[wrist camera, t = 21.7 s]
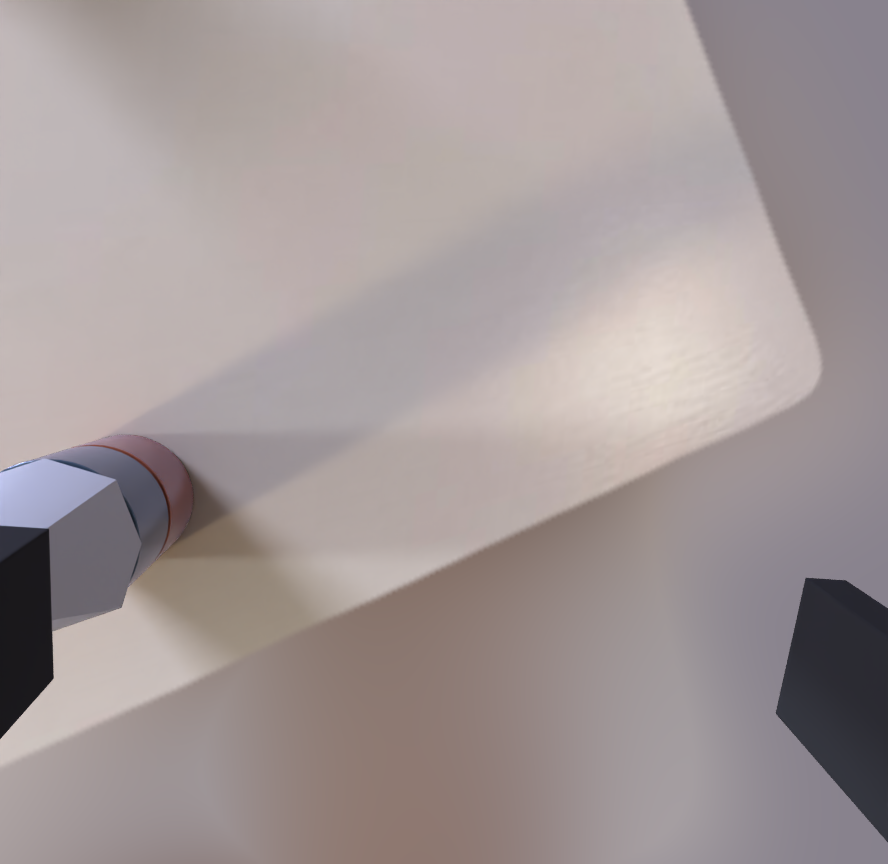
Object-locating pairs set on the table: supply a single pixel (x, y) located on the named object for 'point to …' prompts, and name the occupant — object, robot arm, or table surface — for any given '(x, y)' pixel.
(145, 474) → the cup stack
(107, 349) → the table surface
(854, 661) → the robot arm
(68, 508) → the flask
